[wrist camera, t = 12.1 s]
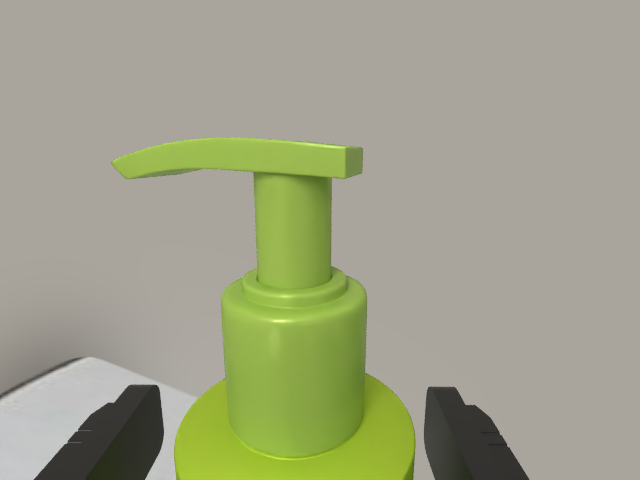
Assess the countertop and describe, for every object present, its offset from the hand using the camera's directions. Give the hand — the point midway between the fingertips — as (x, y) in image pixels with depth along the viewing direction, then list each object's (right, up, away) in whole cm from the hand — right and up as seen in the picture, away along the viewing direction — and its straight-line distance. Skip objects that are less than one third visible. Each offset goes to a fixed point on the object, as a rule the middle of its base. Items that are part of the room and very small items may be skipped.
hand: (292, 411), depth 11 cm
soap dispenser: (0, -12, +2) cm, 12 cm away
